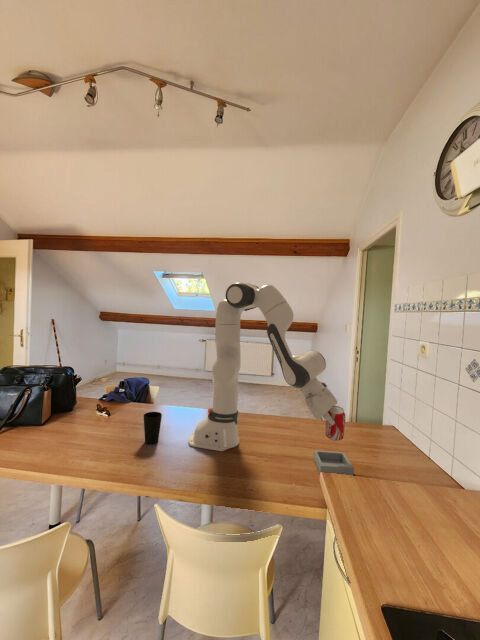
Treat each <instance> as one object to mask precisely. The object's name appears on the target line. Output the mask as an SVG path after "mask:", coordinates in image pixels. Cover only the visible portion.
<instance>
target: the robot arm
mask: <svg viewBox="0 0 480 640" xmlns="http://www.w3.org/2000/svg"><path fill="white" fill-rule="evenodd" d="M256 308H258V309H259V310H260V312H261V314H262V316H263V317H264V319H265V320H266V323H267V328H266V334H267V338H268V339H269V343H270V345H271V346H272V349H273V351H274V354H275V357H276V358H277V361H278V363H279V365H280V369H281V372H282V375H283V379H284V380H285V382H286V383H287V384H288V385H289V386H290V387H293V388H296V389H298V392H299V393H300V394H301V396H302V397H303V398H304V400H305V405H306V406H307V409H308V410H309V411H310V413H311V415H312V416H313V417H314V419H316V420H320V419H321V418H323V419H324V420H325V421H326V420H327V421H328V422H329V423H330V424H331V425H334V424H335V423H336V421H335V420H334V419H332V418H331V417H330V416H329V413H328V411H329V410H330V409H332V406H337V404H338V399H337V398H336V397H335V395H334V394H333V393H332V392H331V390H330V389H329V388H328V385H327V384H326V382H321V381H320V380H319V379H318V378H317V377H318V376H319V375H320V374H322V373H323V372H324V371H325V370H326V368H327V362H326V361H327V360H326V359H325V357H324V356H323V354H322V353H320V352H319V351H317V350H310V351H307V352H305V353H304V352H303V353H302V354H292V351H291V349H290V348H289V346H288V343H287V341H286V332H287V331H288V329H289V328H290V327H291V325H292V323H293V321H294V311H293V310H292V309H293V308H292V307H291V305H290V304H289V302H288V301H287V299H286V298H285V296H283V294H282V293H281V292H280V291H279V290H278V289H277V288H276V287H275V285H273V284H265V285H262V286H261V287H258V286H257V285H255V284H251V283H246V282H234V283H232V284H230V285H229V286H228V287H227V288H226V290H225V299H222V300H220V301H219V302H218V304H217V309H216V314H215V333H214V335H215V336H214V337H215V338H214V339H215V340H214V342H215V349H216V360H215V361H214V363H213V365H212V369H211V372H212V374H211V375H212V376H211V377H212V390H213V391H212V392H213V394H212V396H213V397H212V406H211V407H209V408H208V410H207V417H206V418H205V419H204V420H201V422H199V423H198V424H197V425H196V427H195V430H194V432H193V433H191V434H190V436H189V438H188V445H189V446H190V447H194V448H198V449H199V448H200V449H206V450H212V451H217V452H218V451H219V452H224V451H226V450H228V449H232V448H235V447H237V446H238V445H239V444H240V438H239V432H238V423H239V410H238V402H239V401H238V400H239V386H238V385H239V384H238V383H239V382H238V379H239V372H240V370H241V363H242V361H241V316H242V313H243V312H248V311H250V310H253V309H256Z"/></svg>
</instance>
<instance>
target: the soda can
mask: <svg viewBox="0 0 480 640" xmlns="http://www.w3.org/2000/svg"><path fill="white" fill-rule="evenodd" d="M328 413H329V416H330V417H331V418H332V419H334V420H335V421H336V423H335V424H334V425H331V424H330V423H329V422H328V421H327V420H325V430H324V431H325V436H326V438H328V439H329V440H330V441H333V442H338V441H341V440H343V439H344V436H345V429H346V428H345V427H346V413H345V410H344V408H343V407H342V406H339V405H335V406H332V409H330V410H329V411H328Z"/></svg>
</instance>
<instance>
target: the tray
mask: <svg viewBox="0 0 480 640" xmlns="http://www.w3.org/2000/svg"><path fill="white" fill-rule="evenodd" d="M313 461H314V463H315V466H316V468H317V471H318V474H319V473H320V472H324V473H337V474H346V475H353V476H354V471H355V470H354V469H355V468H354V466H353V464H352V463H351V461H350V460H349V458H348V457H347V455H346V454H345V451H344V452H342V451H341V452H340V451H330V450H329V451H328V450H317V449H316V450H313Z"/></svg>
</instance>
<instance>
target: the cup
mask: <svg viewBox="0 0 480 640" xmlns="http://www.w3.org/2000/svg"><path fill="white" fill-rule="evenodd" d="M162 416H163V414H162V413H161V412H159V411H150V412H146V413H144V414H143V424H144V425H143V431H144V444H146V445H147V446H148V445H149V446H150V445H151V446H152V445H153V446H154V445H157V444H158V443H159V440H160V439H159V438H160V432H161V431H160V430H161V423H162V418H163V417H162Z"/></svg>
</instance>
